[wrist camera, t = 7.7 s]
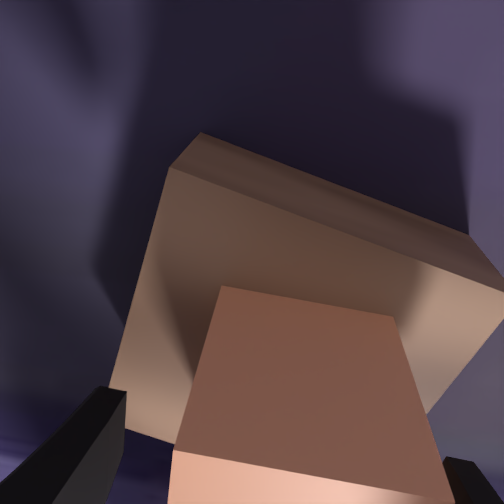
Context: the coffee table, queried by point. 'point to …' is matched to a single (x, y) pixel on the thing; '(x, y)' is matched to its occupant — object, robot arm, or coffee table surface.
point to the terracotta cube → (303, 410)
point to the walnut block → (292, 273)
